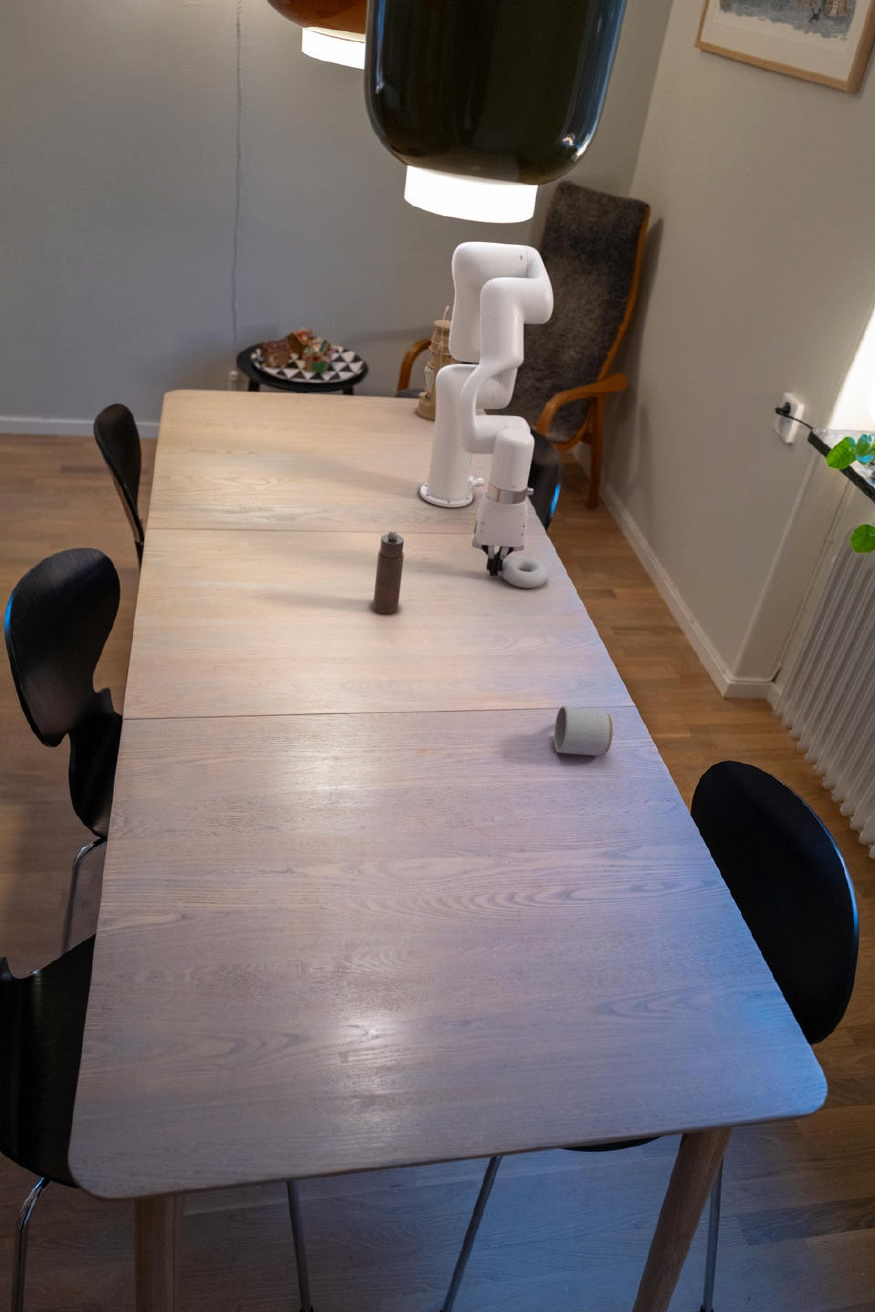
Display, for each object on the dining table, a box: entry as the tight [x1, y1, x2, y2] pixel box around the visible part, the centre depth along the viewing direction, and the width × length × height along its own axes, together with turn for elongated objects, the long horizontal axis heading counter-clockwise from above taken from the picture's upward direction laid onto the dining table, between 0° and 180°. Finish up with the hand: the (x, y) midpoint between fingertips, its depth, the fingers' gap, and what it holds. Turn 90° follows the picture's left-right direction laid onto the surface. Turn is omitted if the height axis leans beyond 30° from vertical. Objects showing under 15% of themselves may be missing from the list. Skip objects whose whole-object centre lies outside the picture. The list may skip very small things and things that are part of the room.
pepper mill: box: [372, 530, 405, 615], centre depth 188 cm, size 5×5×16 cm
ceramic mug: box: [553, 705, 614, 757], centre depth 162 cm, size 11×8×8 cm
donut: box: [500, 555, 549, 589], centre depth 208 cm, size 10×4×10 cm
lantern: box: [416, 305, 455, 421], centre depth 275 cm, size 15×10×30 cm
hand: (493, 573), depth 207 cm, fingers closed
